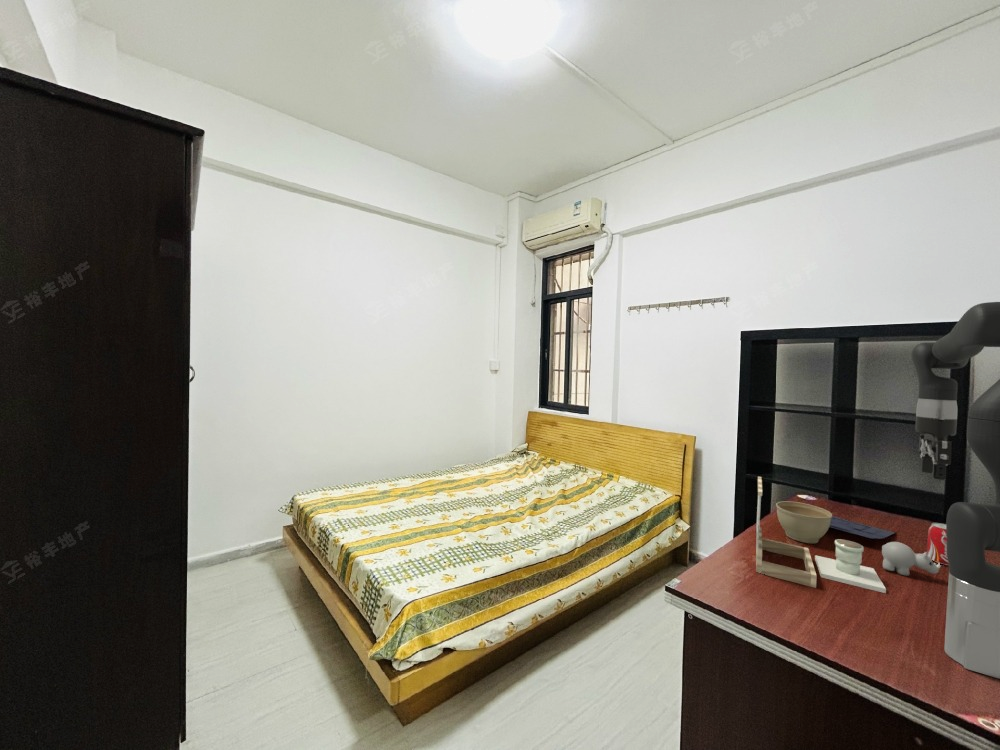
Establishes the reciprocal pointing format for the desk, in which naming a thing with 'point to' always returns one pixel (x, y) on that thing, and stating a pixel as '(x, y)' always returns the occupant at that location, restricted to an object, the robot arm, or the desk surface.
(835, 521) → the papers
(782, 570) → the cold frame
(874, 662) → the desk surface
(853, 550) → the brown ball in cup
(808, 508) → the planter bowl
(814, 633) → the desk surface
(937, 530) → the soda can
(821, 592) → the desk surface
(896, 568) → the round bodied animal figurine
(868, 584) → the concrete tile
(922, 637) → the desk surface
